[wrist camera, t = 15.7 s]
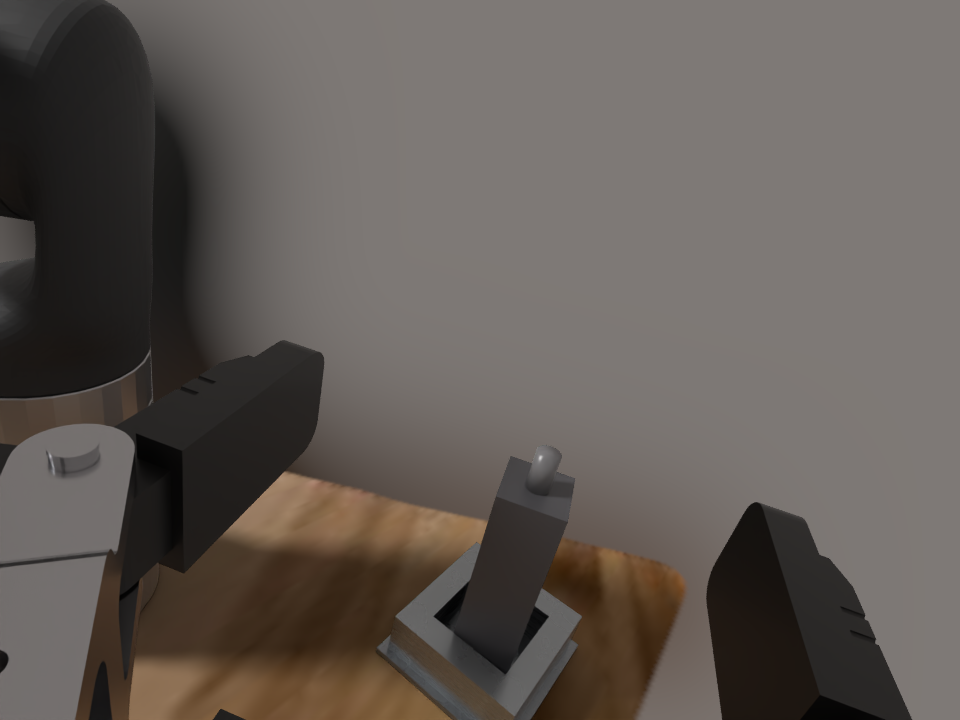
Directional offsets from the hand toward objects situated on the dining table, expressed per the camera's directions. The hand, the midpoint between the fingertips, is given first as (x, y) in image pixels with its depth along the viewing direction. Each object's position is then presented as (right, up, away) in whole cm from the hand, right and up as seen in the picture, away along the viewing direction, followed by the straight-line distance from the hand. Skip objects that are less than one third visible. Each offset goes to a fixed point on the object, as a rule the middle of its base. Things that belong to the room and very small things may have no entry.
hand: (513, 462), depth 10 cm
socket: (-1, -18, +28) cm, 33 cm away
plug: (0, -17, +28) cm, 33 cm away
